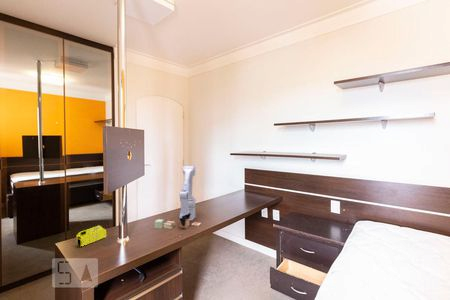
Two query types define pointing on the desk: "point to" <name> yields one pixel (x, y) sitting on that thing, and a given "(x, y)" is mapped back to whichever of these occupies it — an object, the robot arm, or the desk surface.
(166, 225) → the maple base
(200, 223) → the tile
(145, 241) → the desk surface
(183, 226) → the terracotta cube
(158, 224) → the sage cube
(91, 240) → the yellow toy chassis
